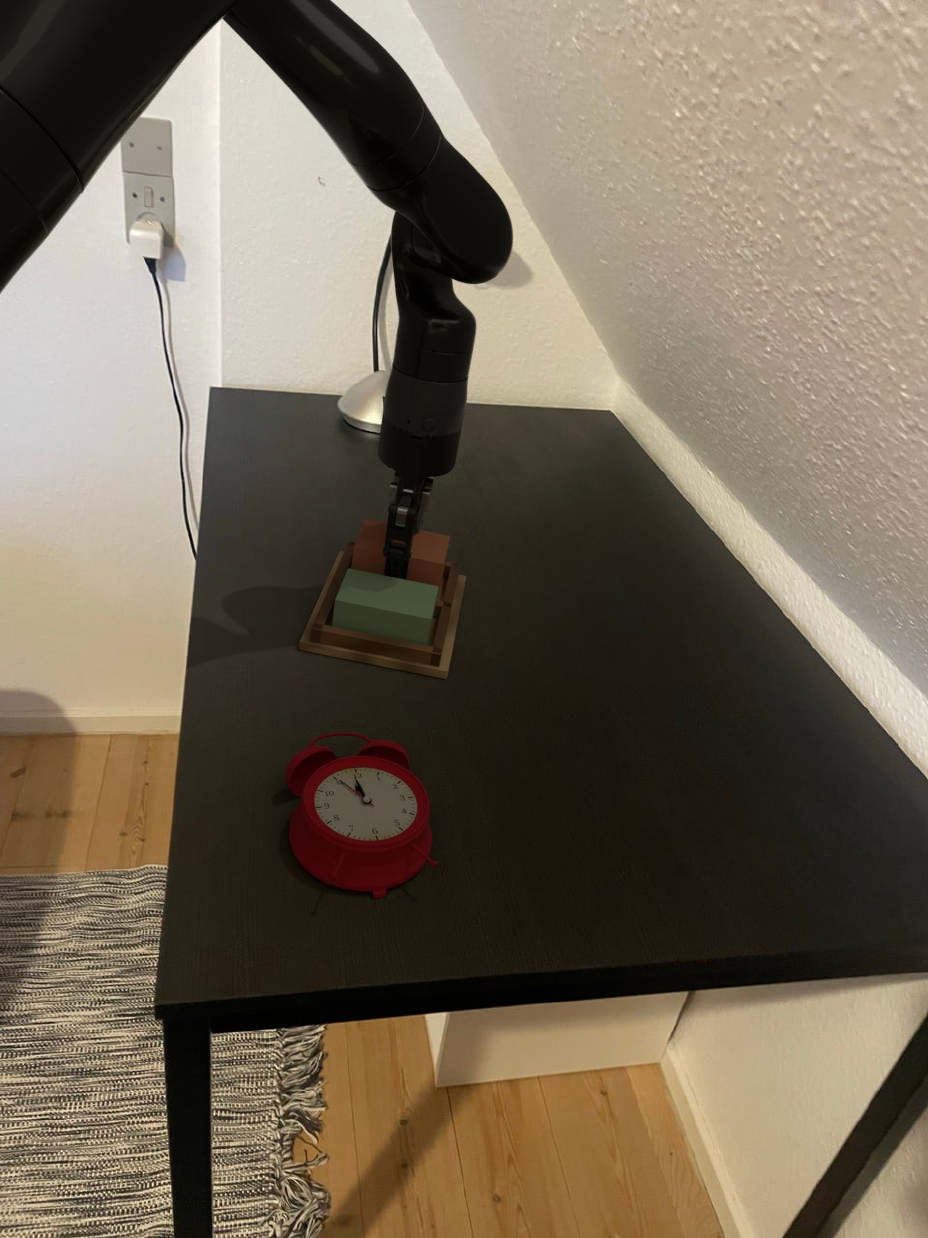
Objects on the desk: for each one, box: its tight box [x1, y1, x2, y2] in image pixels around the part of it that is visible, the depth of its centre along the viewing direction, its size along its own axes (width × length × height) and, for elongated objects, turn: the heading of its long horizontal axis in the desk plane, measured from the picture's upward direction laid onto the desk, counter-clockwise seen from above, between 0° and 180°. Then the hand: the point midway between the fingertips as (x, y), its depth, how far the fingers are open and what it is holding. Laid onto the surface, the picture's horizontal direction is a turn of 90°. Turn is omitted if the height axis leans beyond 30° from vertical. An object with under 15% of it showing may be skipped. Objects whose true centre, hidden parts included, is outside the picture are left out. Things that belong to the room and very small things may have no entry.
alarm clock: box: [285, 731, 439, 900], centre depth 70 cm, size 10×6×15 cm
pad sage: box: [332, 568, 439, 645], centre depth 90 cm, size 9×6×4 cm, turn 84°
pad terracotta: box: [351, 518, 451, 597], centre depth 96 cm, size 9×6×4 cm, turn 84°
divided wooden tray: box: [298, 540, 467, 680], centre depth 94 cm, size 14×18×2 cm
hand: (398, 569), depth 97 cm, fingers closed on pad terracotta, 6 cm apart
